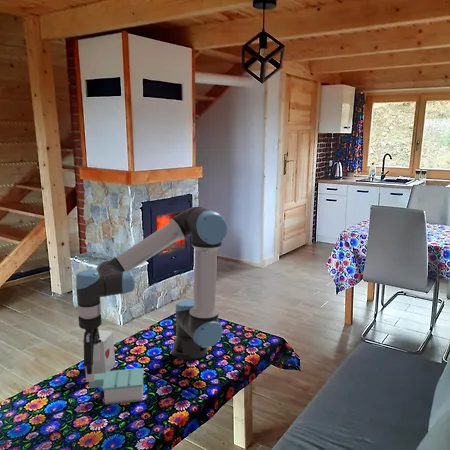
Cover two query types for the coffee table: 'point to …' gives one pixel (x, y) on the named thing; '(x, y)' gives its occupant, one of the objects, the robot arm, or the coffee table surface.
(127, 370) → the lid
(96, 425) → the coffee table surface
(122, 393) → the tub
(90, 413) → the coffee table surface
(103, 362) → the supplement box
